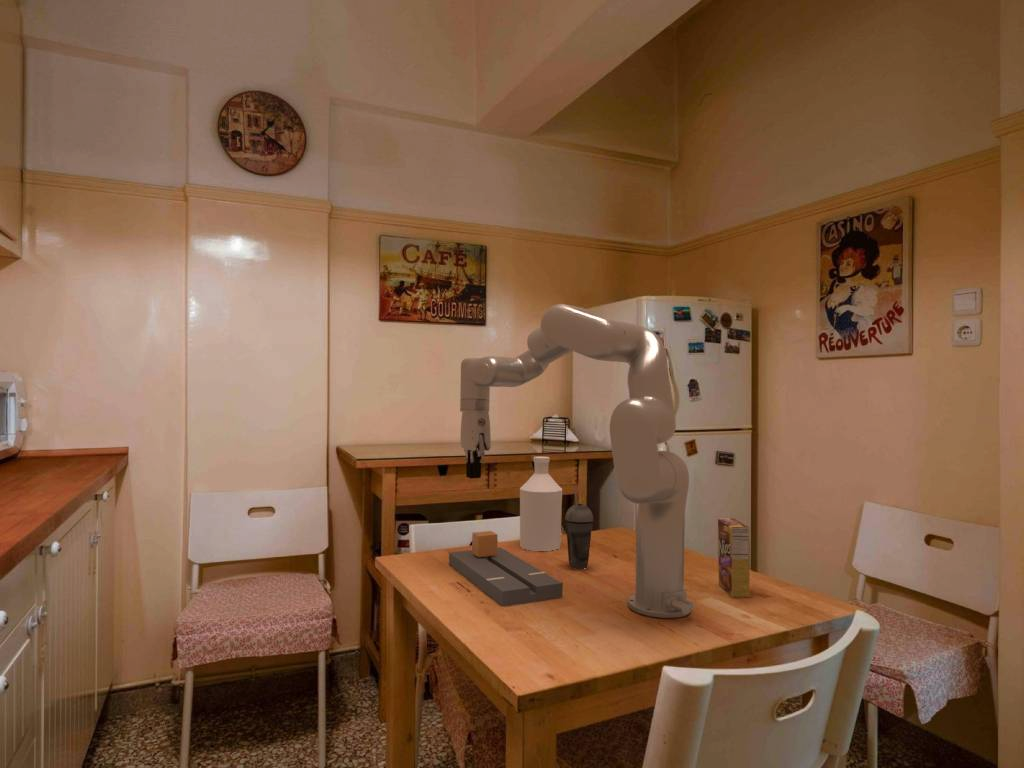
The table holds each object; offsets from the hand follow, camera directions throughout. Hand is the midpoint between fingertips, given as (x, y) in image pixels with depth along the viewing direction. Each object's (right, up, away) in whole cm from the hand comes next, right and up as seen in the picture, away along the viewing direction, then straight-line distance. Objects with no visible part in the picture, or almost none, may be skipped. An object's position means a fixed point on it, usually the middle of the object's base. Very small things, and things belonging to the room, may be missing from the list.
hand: (473, 477), depth 157 cm
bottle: (+18, -22, +14) cm, 32 cm away
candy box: (+59, -22, -22) cm, 66 cm away
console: (+7, -21, -17) cm, 28 cm away
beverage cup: (+26, -22, -5) cm, 35 cm away
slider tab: (+3, -19, -7) cm, 21 cm away
